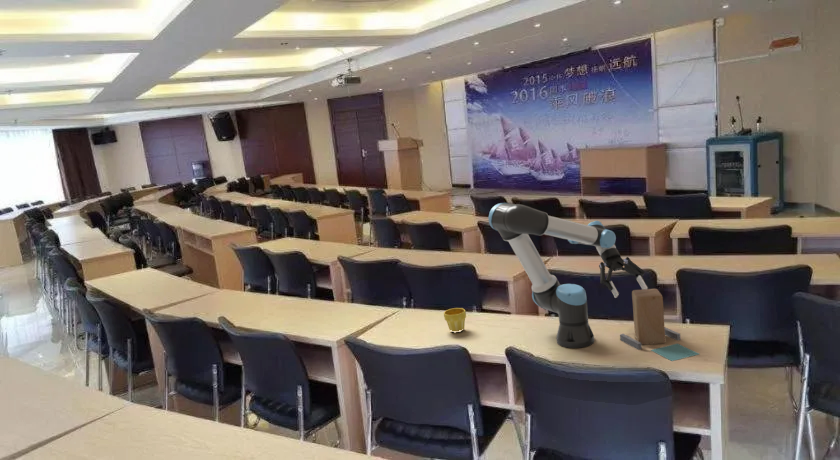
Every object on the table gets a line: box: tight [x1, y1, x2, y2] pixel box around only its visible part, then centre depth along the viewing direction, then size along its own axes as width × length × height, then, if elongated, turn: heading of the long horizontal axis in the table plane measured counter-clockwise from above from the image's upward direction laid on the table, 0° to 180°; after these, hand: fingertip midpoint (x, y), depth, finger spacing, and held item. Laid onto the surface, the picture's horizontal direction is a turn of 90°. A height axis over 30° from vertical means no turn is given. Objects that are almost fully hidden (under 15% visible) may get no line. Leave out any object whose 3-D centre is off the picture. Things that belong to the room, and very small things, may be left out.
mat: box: [650, 343, 700, 362], centre depth 208 cm, size 12×12×1 cm
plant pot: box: [443, 307, 467, 331], centre depth 261 cm, size 10×10×10 cm
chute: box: [619, 326, 682, 351], centre depth 222 cm, size 12×19×2 cm, turn 104°
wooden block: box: [631, 288, 666, 345], centre depth 220 cm, size 10×10×20 cm
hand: (631, 293), depth 230 cm, fingers open, 13 cm apart
